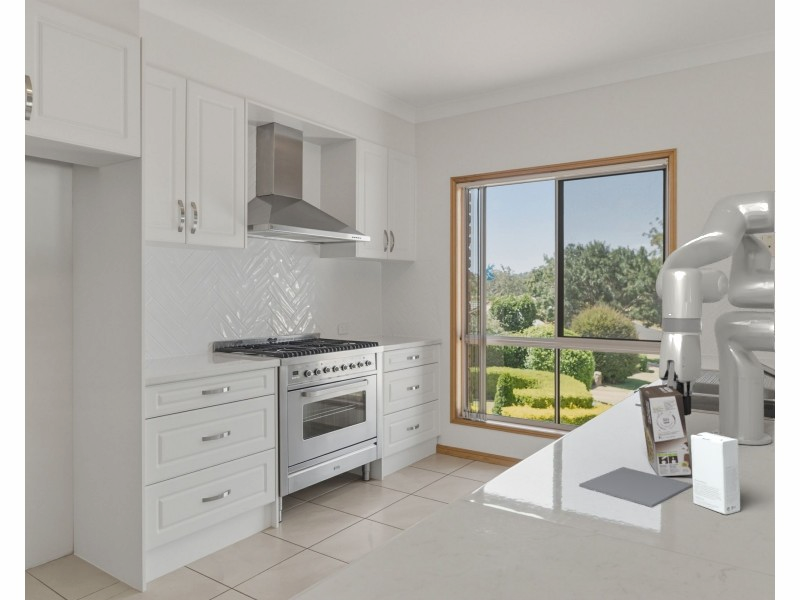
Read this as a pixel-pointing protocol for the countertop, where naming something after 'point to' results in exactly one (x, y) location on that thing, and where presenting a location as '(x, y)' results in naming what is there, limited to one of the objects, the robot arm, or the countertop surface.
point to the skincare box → (715, 472)
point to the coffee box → (665, 430)
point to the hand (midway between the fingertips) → (681, 413)
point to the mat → (636, 486)
